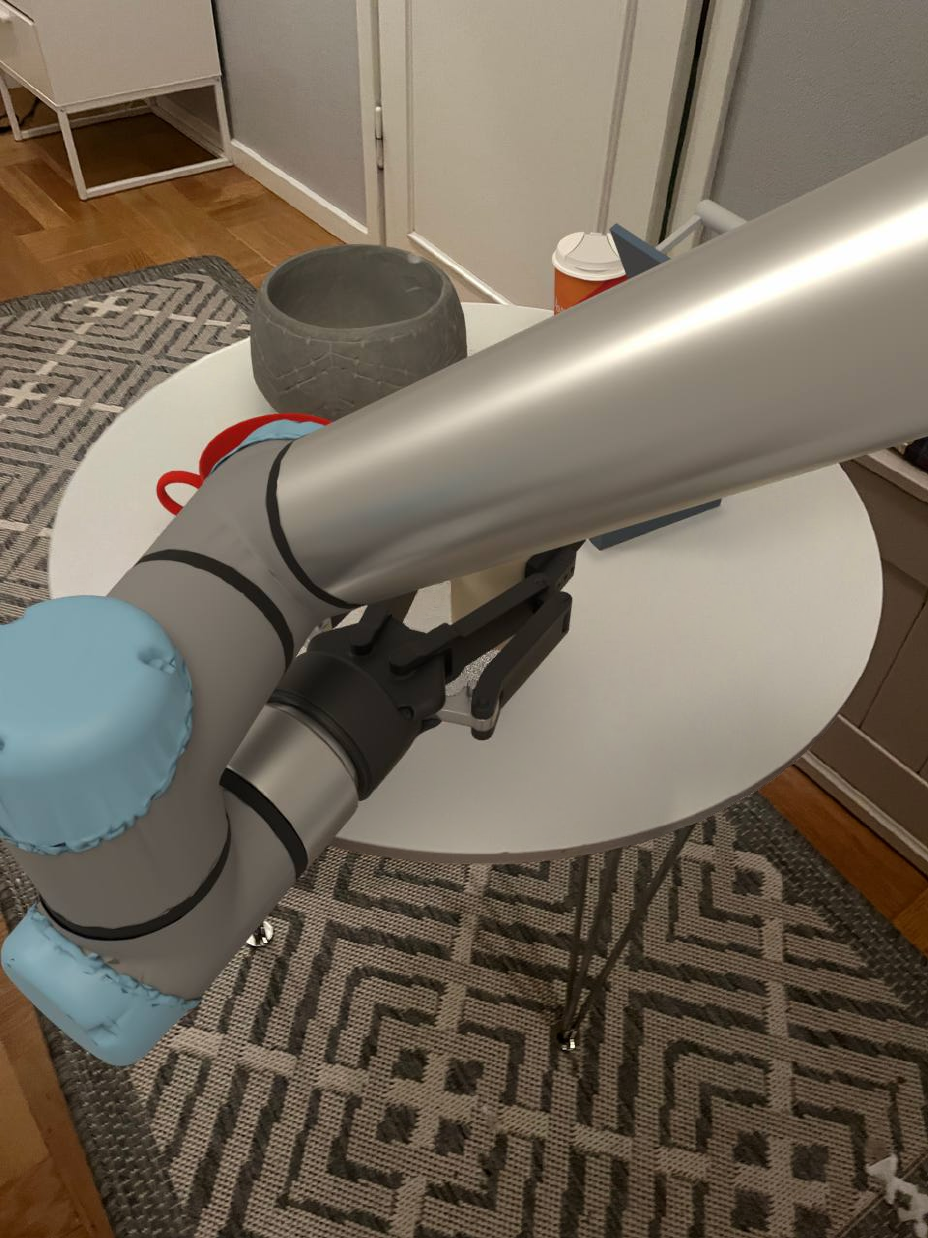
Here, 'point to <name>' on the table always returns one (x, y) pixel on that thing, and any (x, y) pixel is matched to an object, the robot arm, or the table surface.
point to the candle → (484, 588)
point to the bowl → (351, 328)
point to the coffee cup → (585, 268)
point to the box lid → (669, 238)
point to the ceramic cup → (222, 453)
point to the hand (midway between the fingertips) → (538, 505)
